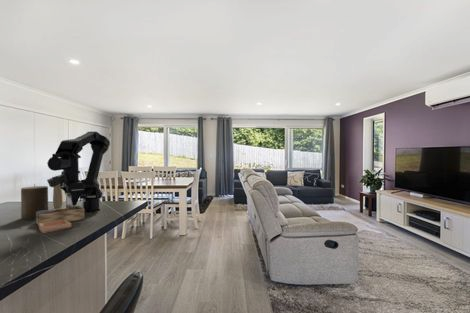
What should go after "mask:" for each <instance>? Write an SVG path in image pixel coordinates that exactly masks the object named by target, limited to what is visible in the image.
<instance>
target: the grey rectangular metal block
mask: <svg viewBox="0 0 470 313" xmlns="http://www.w3.org/2000/svg"><path fill="white" fill-rule="evenodd" d="M48 213H55V210H54V208H50V209H49V208H48V210H42V211H36V218H37V219H38V218H39V215H41V214H48Z"/></svg>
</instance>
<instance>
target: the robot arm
mask: <svg viewBox="0 0 470 313" xmlns="http://www.w3.org/2000/svg"><path fill="white" fill-rule="evenodd" d="M88 144H89V145H90V148H91V150H92V155H91V159H90V162H89V166H88V170H87V174H86V177H85V179H81V180H80V176H79V175H80V173H81V171H80V169H79V159H81V158H82V157H81V154H79V153H81V152H82V151H83V147H85V146H86V145H88ZM110 145H111V142H110V140H109V138H108V137H106V136H105V135H102V134H101V133H100V132H98V131H87V132H86V133H83V134H81V135H80V136H78V137H76V138H72V139H64V140H61V141H60V143H59V146H58V148H57V149H56V151H55V153H52V157H50V158H49V159H48V160H47V163H46V164H47V167H48V168H49V170H51V171H61V172H60V173H61V174H60V175H59V174H58V175H55V176H52V177H51V178H49V179H46V181H47V183H48V186H49V187H51V188H53V187H55V186H56V185H59V186H60V188H61V189H62V191H63V192H64V195H65V196H66V193H70V195H71V200H72V204H73V206H74V205H76V204H77V205H78V202H79V200H83V201H82V203H81V204H82V206H81V207H82V208H84V213H90V212H95V211H101V208H100V199H101V198H102V197H103V191H102V190H101V189H100V184H99V182H98V177H99V173H100V169H101V166H102V161H103V156H104V154H105V153H106V152H108V150H109V148H110ZM61 186H62V187H61Z"/></svg>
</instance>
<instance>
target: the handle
mask: <svg viewBox="0 0 470 313" xmlns="http://www.w3.org/2000/svg"><path fill="white" fill-rule="evenodd" d="M61 187H62V186H61ZM52 188H53V193H52V206H53V209H60V208H63V189H61V188H60V186H59V185H56V186H55V187H52Z"/></svg>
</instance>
